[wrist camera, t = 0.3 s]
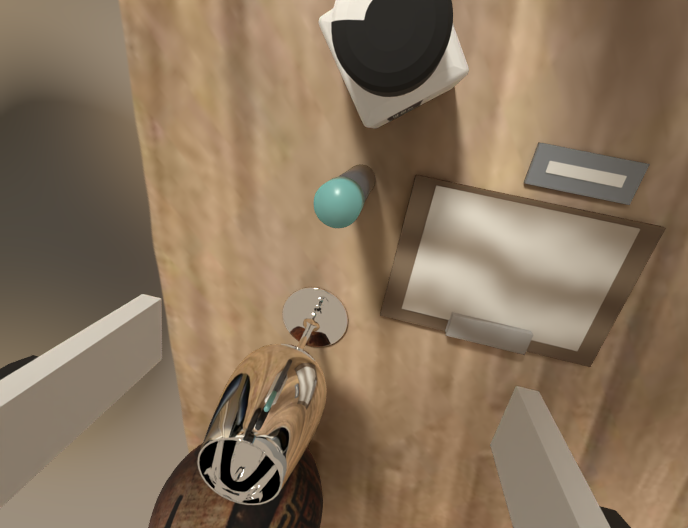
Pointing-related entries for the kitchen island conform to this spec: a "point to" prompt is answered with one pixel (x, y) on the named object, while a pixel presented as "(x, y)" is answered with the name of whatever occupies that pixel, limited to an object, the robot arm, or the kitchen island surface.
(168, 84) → the kitchen island surface
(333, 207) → the marker
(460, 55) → the container
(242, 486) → the wineglass
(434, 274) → the clipboard
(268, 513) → the ceramic vessel
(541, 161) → the plate
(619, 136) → the kitchen island surface
